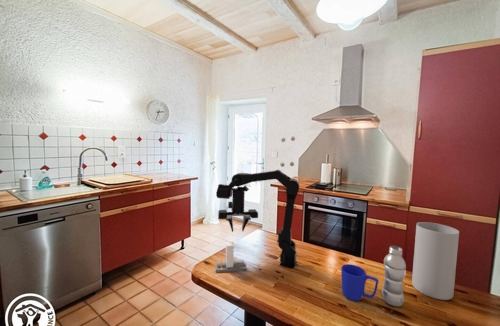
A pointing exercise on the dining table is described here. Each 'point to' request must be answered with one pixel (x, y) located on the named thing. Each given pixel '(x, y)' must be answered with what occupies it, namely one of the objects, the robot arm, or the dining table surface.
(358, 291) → the mug
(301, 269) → the dining table surface
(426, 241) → the cylinder vase
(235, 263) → the light grey bar
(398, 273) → the plastic bottle
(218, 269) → the board
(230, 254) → the white cardboard box
